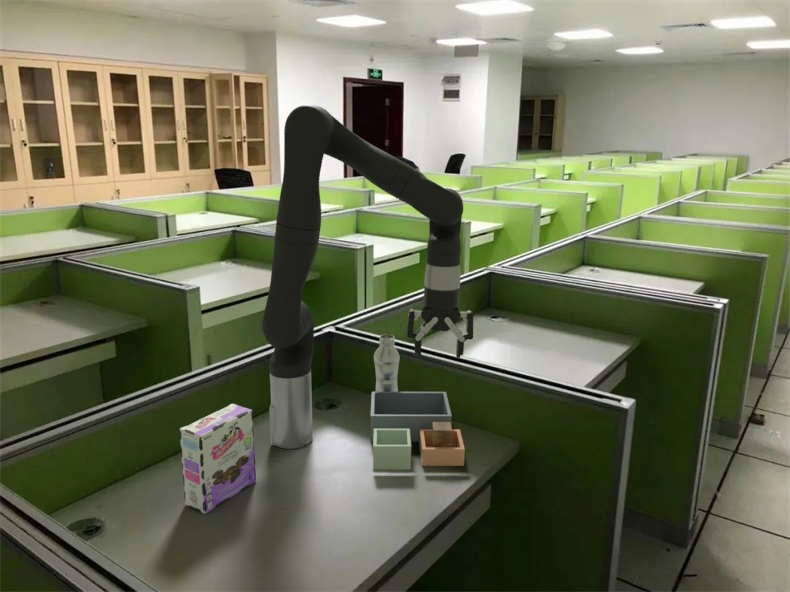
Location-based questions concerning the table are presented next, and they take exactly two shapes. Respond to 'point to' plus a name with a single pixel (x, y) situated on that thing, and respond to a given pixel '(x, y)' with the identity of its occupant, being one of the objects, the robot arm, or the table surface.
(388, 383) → the plastic bottle
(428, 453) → the peach square tray
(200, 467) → the candy box
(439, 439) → the walnut block
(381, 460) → the pale green open box
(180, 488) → the table surface
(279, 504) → the table surface
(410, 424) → the slate bin
